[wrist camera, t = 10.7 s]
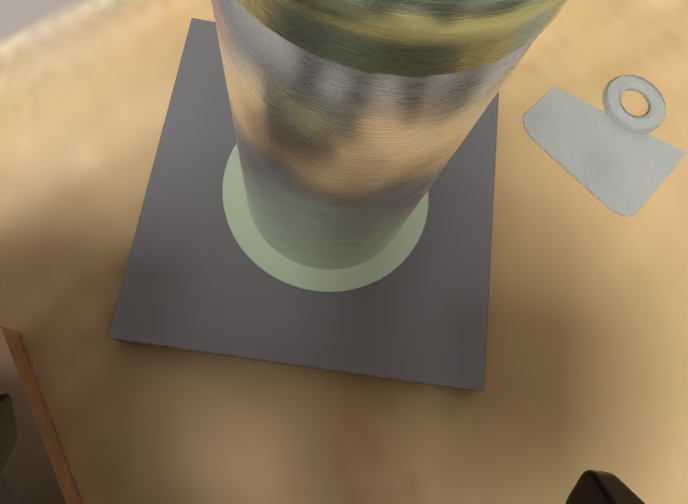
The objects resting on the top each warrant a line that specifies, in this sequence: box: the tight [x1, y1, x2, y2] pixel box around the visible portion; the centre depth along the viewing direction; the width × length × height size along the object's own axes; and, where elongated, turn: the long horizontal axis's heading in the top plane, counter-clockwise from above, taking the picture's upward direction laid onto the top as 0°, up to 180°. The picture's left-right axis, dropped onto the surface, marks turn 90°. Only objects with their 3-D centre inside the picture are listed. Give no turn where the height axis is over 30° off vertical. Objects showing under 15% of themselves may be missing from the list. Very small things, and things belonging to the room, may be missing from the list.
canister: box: [211, 0, 567, 270], centre depth 11 cm, size 6×6×13 cm
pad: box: [108, 18, 499, 391], centre depth 18 cm, size 12×12×1 cm
